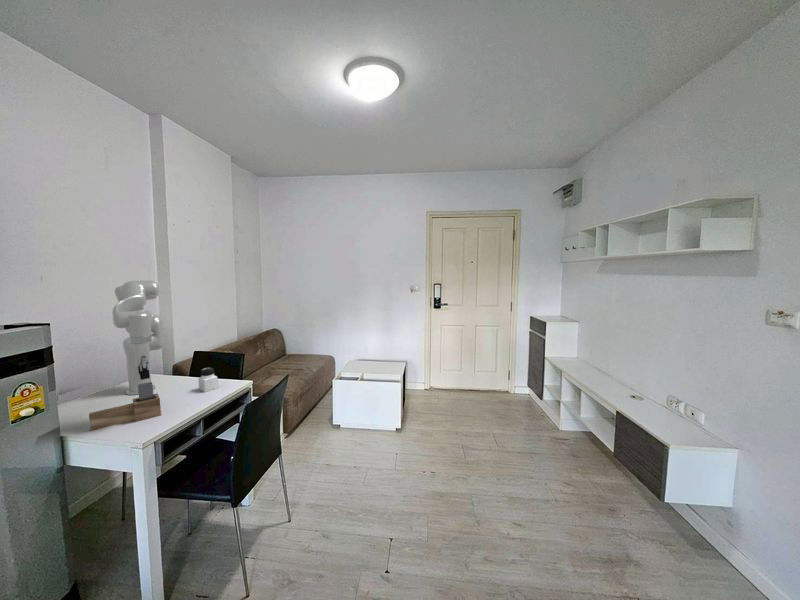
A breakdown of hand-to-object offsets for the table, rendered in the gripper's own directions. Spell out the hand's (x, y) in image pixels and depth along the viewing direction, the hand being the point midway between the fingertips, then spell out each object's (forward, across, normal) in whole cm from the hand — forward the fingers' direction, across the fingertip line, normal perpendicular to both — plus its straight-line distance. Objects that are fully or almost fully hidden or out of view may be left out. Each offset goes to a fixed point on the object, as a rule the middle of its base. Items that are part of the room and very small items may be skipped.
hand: (144, 376), depth 138 cm
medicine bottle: (+19, -16, +28) cm, 38 cm away
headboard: (+19, +1, -7) cm, 20 cm away
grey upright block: (+16, +1, 0) cm, 16 cm away
